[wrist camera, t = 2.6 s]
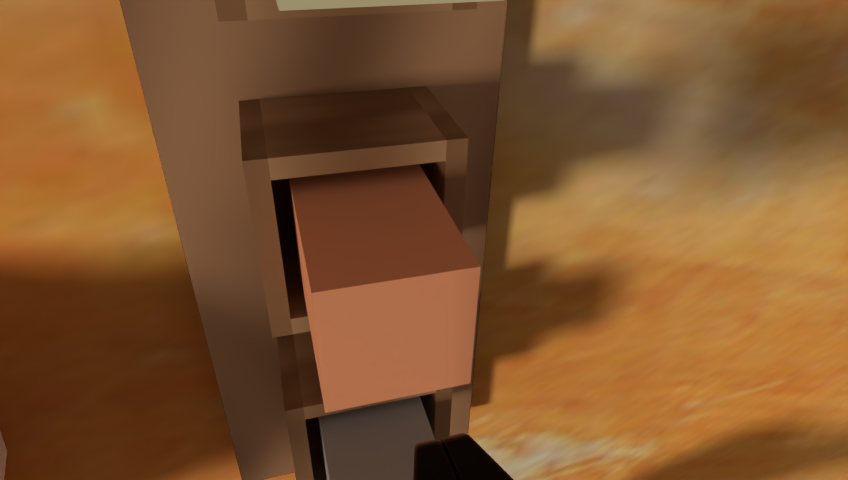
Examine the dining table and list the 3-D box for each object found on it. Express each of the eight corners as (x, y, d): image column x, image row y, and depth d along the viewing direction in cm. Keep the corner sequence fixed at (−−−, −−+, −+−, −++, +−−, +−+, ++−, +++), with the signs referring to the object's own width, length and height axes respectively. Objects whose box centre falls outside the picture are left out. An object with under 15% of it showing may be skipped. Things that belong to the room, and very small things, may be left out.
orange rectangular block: (412, 152, 14) (480, 266, 11) (411, 253, 16) (470, 383, 12) (286, 165, 14) (311, 292, 10) (299, 269, 15) (324, 412, 12)
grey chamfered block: (410, 370, 19) (459, 508, 15) (410, 432, 20) (453, 571, 16) (314, 389, 18) (339, 539, 14) (322, 452, 20) (346, 601, 16)
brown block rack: (523, -450, 12) (663, -583, 8) (458, 411, 25) (498, 507, 22) (0, -526, 9) (-143, -757, 6) (242, 457, 23) (245, 572, 20)
